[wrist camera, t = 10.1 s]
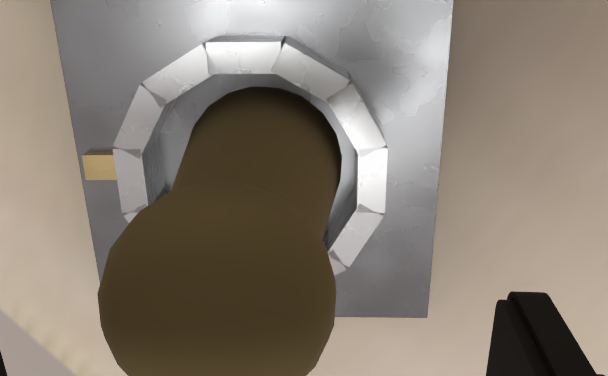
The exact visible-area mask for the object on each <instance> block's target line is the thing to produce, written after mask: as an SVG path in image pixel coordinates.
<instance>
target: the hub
mask: <svg viewBox="0 0 608 376" xmlns="http://www.w3.org/2000/svg"><path fill="white" fill-rule="evenodd" d="M50 1H51V7H52V13H53V18H54V24H55V30H56V35H57V41H58V47H59V52H60V58H61V64H62V69H63V75H64V81H65V86H66V92H67V98H68V103H69V109H70V115H71V120H72V126H73V132H74V138H75V143H76V149H77V155H78V160H79V166H80V172H81V177H82V183H83V189H84V194H85V200H86V206H87V211H88V217H89V223H90V228H91V234H92V240H93V245H94V251H95V257H96V262H97V268H98V274H99V280H100V283H101V280H102V276H103V272H104V269H105V265H106V261H107V258H108V254H109V250H110V248H111V247H112V245H113V244H114V243H115V241H116V240H117V239H118V237H119V236H120V235H121V234H122V232H123V231H124V230H125V228H126V227H127V226H128V224H129V223H130V222H131V220H132V219H133V218H134V217H135V216H136V215H137V213H138V212H139V211H140V210H142V209H143V208H145V207H147V206H148V205H150V204H151V203H153V202H154V201H156V200H158V199H159V198H161V197H162V196H164V195H165V194H167V193H169V192H171V189H172V186H173V183H174V181H175V178H176V175H177V172H178V169H179V166H180V163H181V161H182V158H183V155H184V152H185V149H186V146H187V144H188V141H189V138H190V135H191V132H192V129H193V126H194V125H195V123H196V122H197V121H198V119H199V118H200V117H201V115H202V114H203V113H204V111H205V110H206V109H207V107H208V106H209V105H211V104H212V103H214V102H215V101H217V100H218V99H220V98H221V97H223V96H224V95H226V94H227V93H229V92H233V91H237V90H241V89H244V88H248V87H252V86H259V87H277V88H281V89H284V90H286V91H289V92H292V93H294V94H297V95H299V96H302V97H304V98H305V99H306V100H307V101H309V102H310V103H311V104H312V105H314V106H315V107H316V108H317V109H319V110H320V111H321V112H322V113H323V114H324V116H325V117H326V119H327V120H328V122H329V123H330V125H331V126H332V128H333V129H334V131H335V133H336V135H337V138H338V142H339V146H340V150H341V154H342V166H341V179H340V183H339V186H338V190H337V193H336V196H335V199H334V203H333V206H332V209H331V213H330V216H329V219H328V222H327V226H326V229H325V232H324V236H323V239H322V242H323V244H324V246H325V247H326V249H327V252H328V255H329V259H330V262H331V266H332V269H333V273H334V276H335V280H336V305H335V317H400V318H427V315H428V303H429V291H430V278H431V266H432V254H433V242H434V230H435V218H436V206H437V194H438V182H439V169H440V157H441V145H442V133H443V121H444V109H445V97H446V85H447V73H448V60H449V48H450V36H451V24H452V12H453V0H50Z"/></svg>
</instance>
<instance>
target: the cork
mask: <svg viewBox="0 0 608 376" xmlns="http://www.w3.org/2000/svg"><path fill="white" fill-rule="evenodd" d="M341 166H342V154H341V150H340V146H339V142H338V138H337V135H336V133H335V131H334V129H333V128H332V126H331V125H330V123H329V122H328V120H327V119H326V117H325V116H324V114H323V113H322V112H321V111H320V110H319V109H317V108H316V107H315V106H314V105H312V104H311V103H310V102H309V101H307V100H306V99H305V98H304V97H302V96H299V95H297V94H294V93H292V92H289V91H286V90H284V89H281V88H277V87H259V86H252V87H248V88H244V89H241V90H237V91H233V92H229V93H227V94H226V95H224V96H223V97H221V98H220V99H218V100H217V101H215V102H214V103H212V104H211V105H209V106H208V107H207V109H206V110H205V111H204V113H203V114H202V115H201V117H200V118H199V119H198V121H197V122H196V123H195V125H194V126H193V129H192V132H191V135H190V138H189V141H188V144H187V146H186V149H185V152H184V155H183V158H182V161H181V163H180V166H179V169H178V172H177V175H176V178H175V181H174V183H173V186H172V189H171V192H169V193H167V194H165V195H164V196H162V197H161V198H159V199H158V200H156V201H154V202H153V203H151V204H150V205H148V206H147V207H145V208H143V209H142V210H140V211H139V212H138V213H137V215H136V216H135V217H134V218H133V219H132V220H131V222H130V223H129V224H128V226H127V227H126V228H125V230H124V231H123V232H122V234H121V235H120V236H119V237H118V239H117V240H116V241H115V243H114V244H113V245H112V247H111V248H110V250H109V254H108V258H107V261H106V265H105V269H104V272H103V276H102V280H101V283H100V287H99V291H98V303H99V312H100V321H101V327H102V330H103V333H104V336H105V339H106V341H107V343H108V345H109V347H110V349H111V351H112V353H113V356H114V358H115V360H116V362H117V364H118V365H119V366H120V367H121V368H122V370H123V371H124V372H125V373H126V374H127V375H128V376H306V375H307V374H308V373H309V372H310V371H311V370H312V369H313V368H314V367H315V366H316V364H317V362H318V360H319V358H320V356H321V354H322V352H323V349H324V347H325V345H326V343H327V341H328V339H329V336H330V334H331V331H332V329H333V326H334V317H335V305H336V280H335V276H334V273H333V269H332V266H331V262H330V259H329V255H328V252H327V249H326V247H325V246H324V244H323V242H322V239H323V236H324V232H325V229H326V226H327V222H328V219H329V216H330V213H331V209H332V206H333V203H334V199H335V196H336V193H337V190H338V186H339V183H340V179H341Z"/></svg>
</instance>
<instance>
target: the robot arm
mask: <svg viewBox="0 0 608 376" xmlns="http://www.w3.org/2000/svg"><path fill="white" fill-rule="evenodd" d="M0 376H7V373H6V370H5V366H4V362H3V359H2V355H1V352H0ZM486 376H605V375H601V374H596V373H595V371H594V369H593V368H592V366H591V365H590V363H589V361H588V360H587V358H586V356H585V355H584V353H583V351H582V350H581V348H580V346H579V345H578V343H577V341H576V340H575V338H574V336H573V335H572V333H571V332H570V330H569V328H568V327H567V325H566V323H565V322H564V320H563V318H562V317H561V315H560V313H559V312H558V310H557V308H556V307H555V305H554V303H553V302H552V300H551V298H550V297H549V296H548V294H547V293H541V292H510V293H509V295H508V298H507V300H498V302H497V304H496V309H495V316H494V323H493V330H492V337H491V344H490V351H489V358H488V365H487V372H486Z"/></svg>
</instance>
